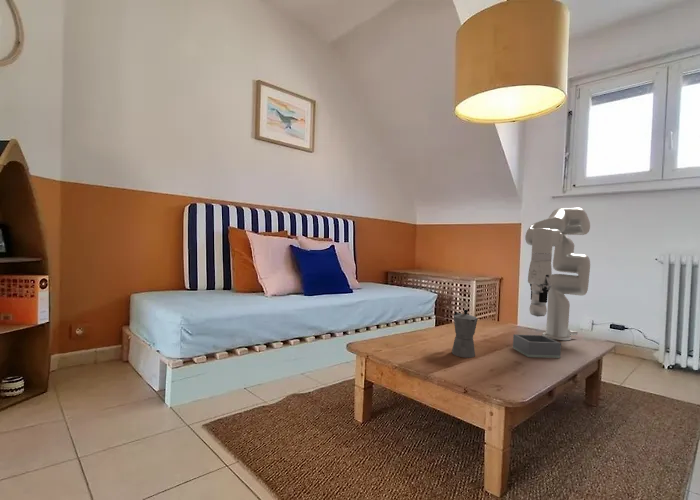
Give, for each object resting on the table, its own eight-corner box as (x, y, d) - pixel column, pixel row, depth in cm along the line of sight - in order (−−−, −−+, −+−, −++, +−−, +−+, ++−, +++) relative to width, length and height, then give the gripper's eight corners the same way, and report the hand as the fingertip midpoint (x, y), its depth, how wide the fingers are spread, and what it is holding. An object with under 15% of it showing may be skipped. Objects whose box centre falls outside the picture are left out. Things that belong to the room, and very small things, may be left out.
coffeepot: (483, 359, 144) (485, 312, 143) (460, 359, 142) (463, 312, 141) (462, 347, 159) (465, 305, 158) (442, 348, 157) (444, 305, 156)
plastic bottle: (544, 315, 158) (547, 268, 158) (547, 318, 152) (550, 269, 151) (527, 314, 160) (530, 267, 160) (530, 316, 154) (533, 268, 153)
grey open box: (542, 349, 163) (543, 335, 163) (560, 358, 150) (561, 343, 150) (512, 348, 162) (513, 334, 162) (528, 357, 150) (528, 342, 149)
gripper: (521, 256, 164) (519, 297, 164) (544, 258, 146) (541, 304, 147) (538, 257, 164) (535, 298, 164) (563, 259, 147) (560, 305, 147)
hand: (538, 300), depth 156 cm, fingers closed on plastic bottle, 5 cm apart
